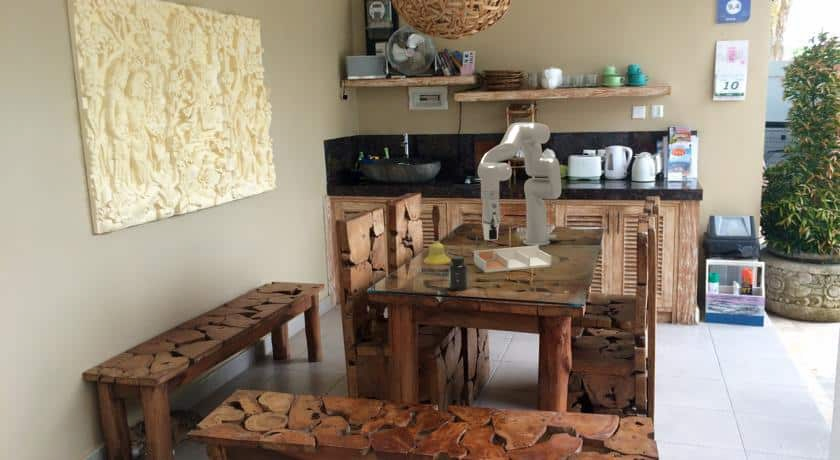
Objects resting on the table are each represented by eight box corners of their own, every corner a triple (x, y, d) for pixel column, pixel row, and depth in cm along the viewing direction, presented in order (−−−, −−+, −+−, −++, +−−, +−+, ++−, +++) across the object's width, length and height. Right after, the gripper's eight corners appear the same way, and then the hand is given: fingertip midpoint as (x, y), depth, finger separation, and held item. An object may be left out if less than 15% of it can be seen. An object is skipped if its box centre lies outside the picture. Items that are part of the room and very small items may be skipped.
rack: (537, 258, 313) (537, 245, 312) (551, 266, 299) (551, 252, 298) (474, 264, 307) (473, 250, 306) (484, 272, 293) (484, 258, 292)
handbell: (430, 265, 308) (429, 208, 303) (418, 260, 319) (416, 204, 314) (456, 262, 313) (454, 205, 308) (443, 256, 324) (441, 202, 319)
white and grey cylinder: (480, 240, 296) (480, 223, 295) (485, 237, 302) (484, 220, 301) (496, 240, 294) (496, 224, 292) (501, 237, 300) (500, 221, 299)
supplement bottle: (447, 290, 269) (446, 259, 267) (452, 285, 275) (452, 255, 273) (464, 291, 266) (463, 260, 264) (469, 286, 273) (469, 256, 270)
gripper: (505, 197, 287) (506, 241, 291) (492, 191, 304) (492, 233, 307) (487, 198, 286) (488, 242, 289) (475, 192, 302) (476, 234, 305)
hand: (490, 237), depth 298 cm, fingers closed on white and grey cylinder, 5 cm apart
